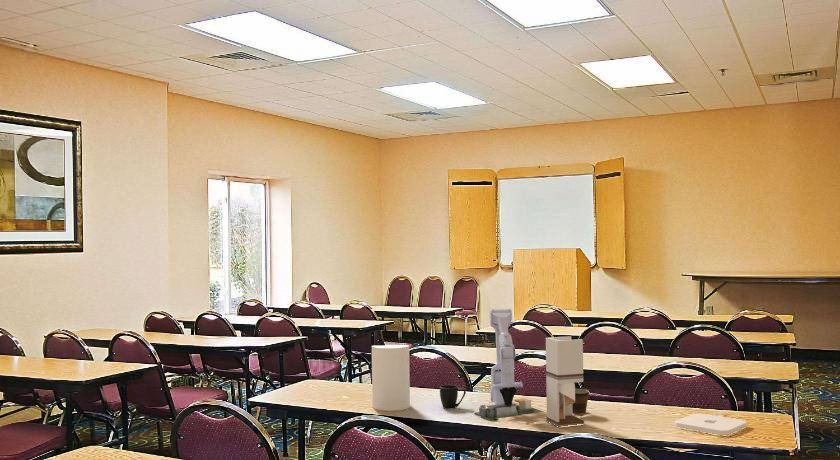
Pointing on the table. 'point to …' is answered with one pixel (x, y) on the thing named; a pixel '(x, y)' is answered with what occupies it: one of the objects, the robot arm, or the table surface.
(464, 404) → the table surface
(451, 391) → the mug
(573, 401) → the coffee maker
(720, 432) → the computer
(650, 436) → the table surface
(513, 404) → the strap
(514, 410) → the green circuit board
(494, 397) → the robot arm
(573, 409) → the ceramic cup
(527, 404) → the block
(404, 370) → the cylinder
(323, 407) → the table surface
